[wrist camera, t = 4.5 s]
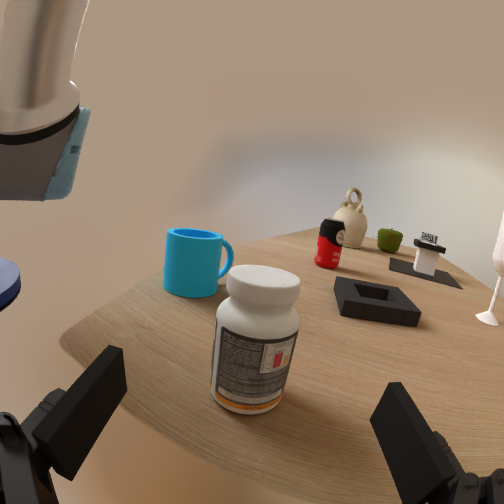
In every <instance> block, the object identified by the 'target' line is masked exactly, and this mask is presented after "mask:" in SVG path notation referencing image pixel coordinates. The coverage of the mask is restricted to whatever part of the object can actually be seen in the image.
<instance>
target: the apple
mask: <svg viewBox="0 0 504 504" xmlns="http://www.w3.org/2000/svg"><path fill="white" fill-rule="evenodd" d="M402 238H403V235H402V233H400V232H398V231H395V230H392V229H391V230H390V229H380V230H379V231H378V244H377V246H378V247H379V248H380V249H381V250H383V251H385V252H389V253H395V252H397V251H398V249H399V246H400V244H401V241H402Z"/></svg>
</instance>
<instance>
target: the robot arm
mask: <svg viewBox="0 0 504 504" xmlns="http://www.w3.org/2000/svg"><path fill="white" fill-rule="evenodd" d="M88 3H89V0H7V4H6V9H5V13H4V18H3V24H2V30H1V38H0V200H28V201H45V200H54V199H63V198H64V197H66V196H68V194H69V193H70V192H71V190H72V186H73V182H74V177H75V172H76V168H77V163H78V159H79V155H80V151H81V146H82V143H83V138H84V135H85V131H86V128H87V124H88V120H89V117H90V113H91V111H90V109H89V108H86V107H84V106H80V107H79V101H80V91H79V89H78V87H77V86H76V85H75V84H74V83H73V82H71V81H70V76H71V70H72V65H73V59H74V54H75V50H76V45H77V41H78V37H79V33H80V29H81V26H82V22H83V19H84V16H85V12H86V9H87V6H88ZM126 392H127V383H126V376H125V368H124V359H123V349H122V348H118V347H115V346H112V345H108V346H107V347H106V349H105V350H104V351H103V352H102V353H101V354H100V355H99V356H98V357H97V358H96V359H95V360H94V361H93V363H92V364H91V365H90V366H89V367H88V368H87V369H86V370H85V371H84V373H82V375H81V376H80V377H79V378H78V379H77V380H76V381H75V382H74V384H73V385H72V386H71V387H70V388H69V389H68V390H67V392H66V391H64V390H62V389H60V388H58V389H56V390H54V391H52V392H50V393H49V394H48V395H47V396H46V397H45V398H44V399H43V401H41V402H40V403H39V405H38V407H36V408H35V409H34V410H33V411H32V412H31V413H30V414H29V416H28V417H27V418H26V419H25V420H24V421H23V422H22V423H21V425H19V423H18V421H17V419H16V418H15V417H14V416H13V415H12V414H10V413H6V412H0V504H59V502H58V499H57V496H56V493H55V489H54V486H53V483H52V479H51V475H50V473H49V469H50V468H51V466H52V467H53V469H54V470H55V472H56V473H57V474H59V475H61V476H63V477H64V478H66V479H68V480H70V481H72V480H73V479H74V477H75V475H76V474H77V472H78V470H79V468H80V467H81V465H82V463H83V462H84V460H85V458H86V457H87V455H88V453H89V451H90V450H91V448H92V447H93V445H94V443H95V442H96V440H97V438H98V437H99V435H100V433H101V432H102V430H103V428H104V427H105V425H106V424H107V422H108V420H109V419H110V417H111V416H112V414H113V412H114V411H115V409H116V408H117V406H118V404H119V403H120V401H121V400H122V398H123V397H124V395H125V393H126ZM370 422H371V424H372V427H373V429H374V432H375V434H376V436H377V439H378V441H379V444H380V446H381V449H382V451H383V454H384V456H385V459H386V461H387V464H388V466H389V469H390V471H391V474H392V477H393V479H394V482H395V485H396V487H397V490H398V493H399V495H400V498H401V501H402V503H403V504H425V503H426V502H427V501H428V504H504V469H501V468H499V469H496V470H495V471H494V472H493V473H492V474H491V475H490V476H488V477H481V478H479V477H478V476H477V475H476V474H474V473H465V472H464V470H463V468H462V467H461V465H460V463H459V462H458V460H457V458H456V457H455V455H454V453H453V452H451V448H450V447H449V446H448V443H447V442H446V440H445V439H444V437H443V436H442V435H441V434H439V433H438V432H437V431H435V432H432V430H431V429H430V427H429V426H428V424H427V422H426V421H425V419H424V417H423V416H422V414H421V413H420V411H419V410H418V408H417V406H416V405H415V403H414V402H413V400H412V399H411V397H410V395H409V394H408V392H407V391H406V389H405V388H404V386H403V385H402V383H401V382H391V383H388V385H387V387H386V389H385V391H384V393H383V395H382V397H381V399H380V401H379V403H378V405H377V407H376V409H375V411H374V413H373V414H372V416H371V418H370Z"/></svg>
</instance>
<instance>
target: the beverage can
mask: <svg viewBox="0 0 504 504" xmlns="http://www.w3.org/2000/svg"><path fill="white" fill-rule="evenodd" d="M344 234H345V225H344V221H342V220H337V219H332V218H326V217H325V219H324V221H323V222H322V223H321V227H320V232H319V238H318V243H317V249H316V254H315V259H314V260H315V262H316V264H317V265H318V266H320V267H323V268H329V269H333V268H335V267H337V266H338V264H339V259H340V255H341V250H342V245H343V240H344Z"/></svg>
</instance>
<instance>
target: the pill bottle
mask: <svg viewBox="0 0 504 504" xmlns="http://www.w3.org/2000/svg"><path fill="white" fill-rule="evenodd" d="M300 286H301V281H300V279H299V278H298V277H297V276H296V275H294V274H292V273H290V272H287V271H284V270H281V269H277V268H273V267H268V266H260V265H239V266H235V267H232V268H231V269H230V270H229V272H228V278H227V285H226V288H227V290H228V293H229V295H230V297H228V298H227V299H225V300H224V301H223V302H222V303H221V304H220V305H219V307H218V309H217V312H216V320H215V331H214V342H213V352H212V363H211V374H210V390H211V394H212V396H213V397H214V399H215V400H216V401H217V402H218V403H219V404H220V405H222V406H223V407H225V408H226V409H228V410H230V411H233V412H236V413H240V414H248V415H249V414H259V413H263V412H267V411H269V410H270V409H272V408H274V407H275V406H276V405H277V404H278V403H279V401H280V399H281V397H282V394H283V391H284V387H285V383H286V379H287V375H288V372H289V368H290V364H291V360H292V355H293V352H294V347H295V343H296V339H297V335H298V331H299V325H300V320H299V315H298V313H297V311H296V310H295V308H294V307H293V304H294V303H295V302H296V301H297V300H298V297H299V292H300Z"/></svg>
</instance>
